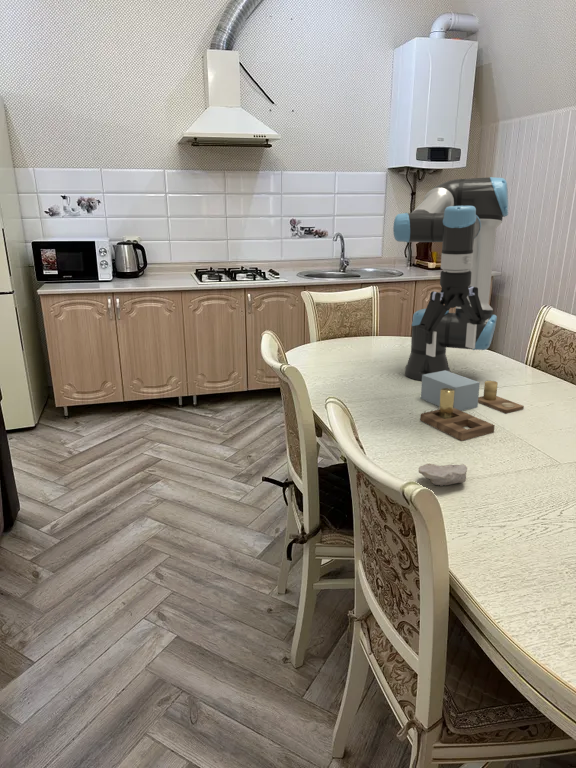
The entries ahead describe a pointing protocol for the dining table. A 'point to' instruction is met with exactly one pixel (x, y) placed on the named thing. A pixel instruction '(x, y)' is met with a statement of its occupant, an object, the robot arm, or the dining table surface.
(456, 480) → the fossil
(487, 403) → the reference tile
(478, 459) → the dining table surface
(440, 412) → the peg
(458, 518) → the dining table surface
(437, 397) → the housing
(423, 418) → the board
